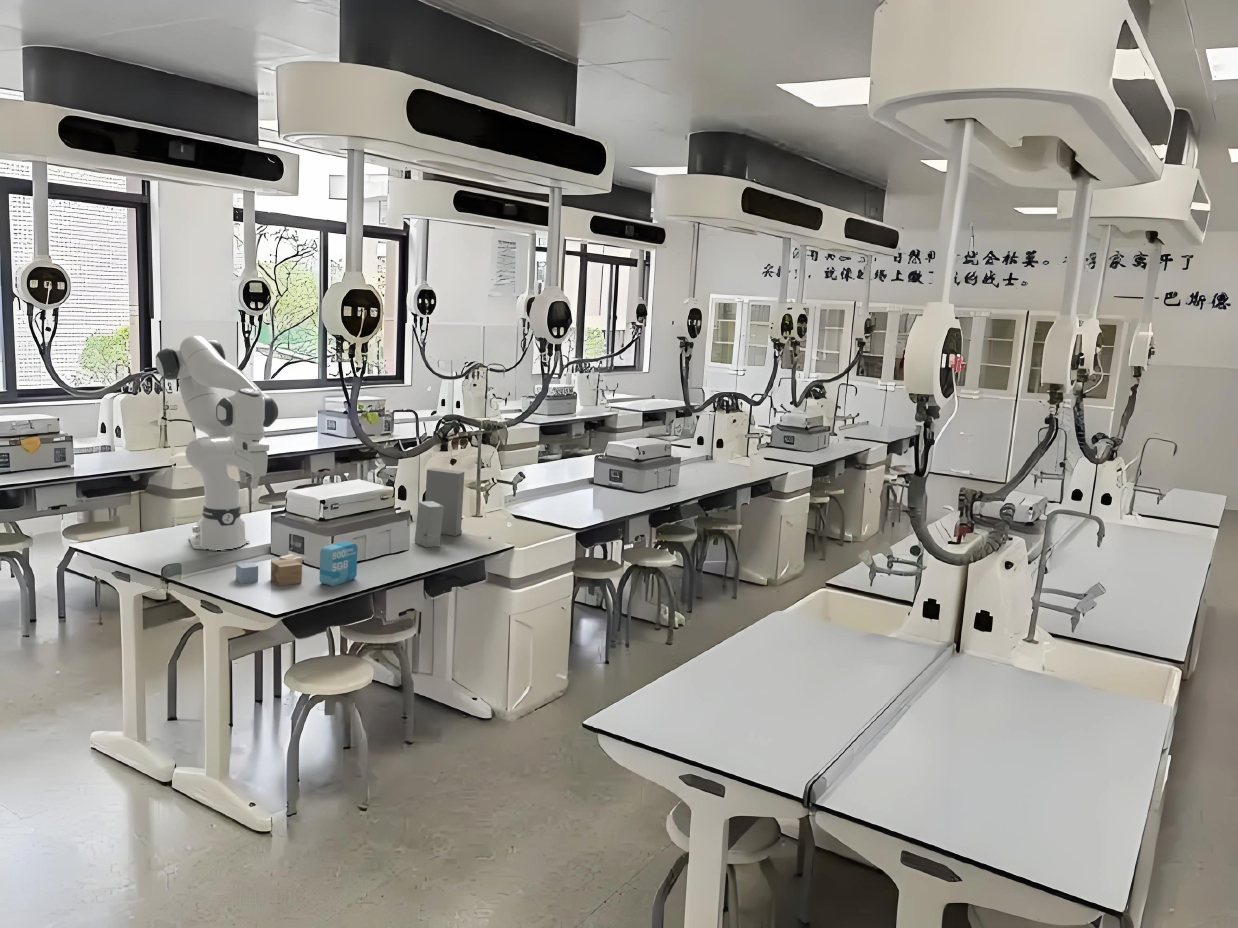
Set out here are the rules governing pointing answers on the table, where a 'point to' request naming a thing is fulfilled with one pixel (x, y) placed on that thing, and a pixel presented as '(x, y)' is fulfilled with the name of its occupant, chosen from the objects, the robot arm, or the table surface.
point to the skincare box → (429, 524)
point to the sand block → (291, 557)
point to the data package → (338, 563)
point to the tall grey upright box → (447, 497)
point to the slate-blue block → (247, 572)
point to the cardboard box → (286, 572)
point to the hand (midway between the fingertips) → (248, 485)
